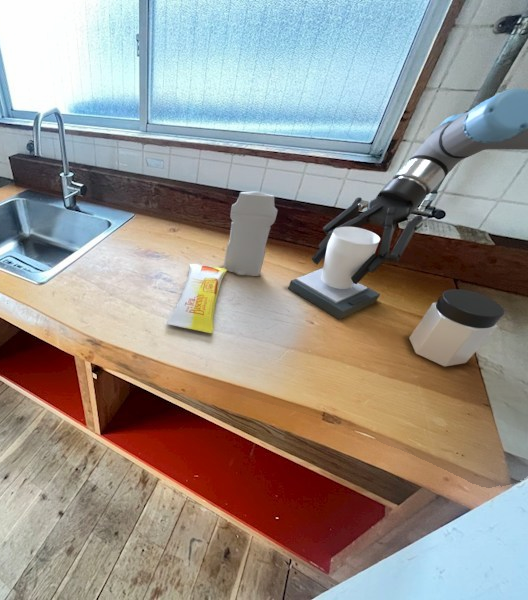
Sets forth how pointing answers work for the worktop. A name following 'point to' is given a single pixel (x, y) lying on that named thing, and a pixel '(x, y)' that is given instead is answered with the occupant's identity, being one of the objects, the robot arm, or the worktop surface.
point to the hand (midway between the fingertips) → (333, 270)
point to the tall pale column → (249, 232)
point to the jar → (455, 327)
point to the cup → (347, 255)
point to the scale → (333, 295)
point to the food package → (198, 299)
